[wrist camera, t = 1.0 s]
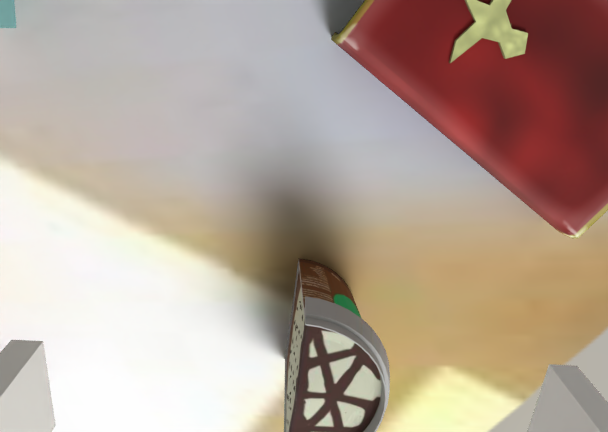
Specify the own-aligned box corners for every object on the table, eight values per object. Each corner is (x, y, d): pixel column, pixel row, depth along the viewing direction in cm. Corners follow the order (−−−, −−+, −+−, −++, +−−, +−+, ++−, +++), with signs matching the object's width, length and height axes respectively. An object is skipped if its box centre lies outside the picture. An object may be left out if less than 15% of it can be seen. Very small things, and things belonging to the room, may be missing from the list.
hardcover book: (544, 220, 36) (575, 244, 32) (329, 39, 31) (335, 41, 27) (675, 92, 33) (727, 101, 29) (459, -135, 28) (487, -162, 24)
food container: (355, 380, 41) (376, 485, 31) (283, 374, 40) (282, 479, 31) (382, 248, 36) (415, 325, 27) (301, 240, 36) (306, 315, 26)
